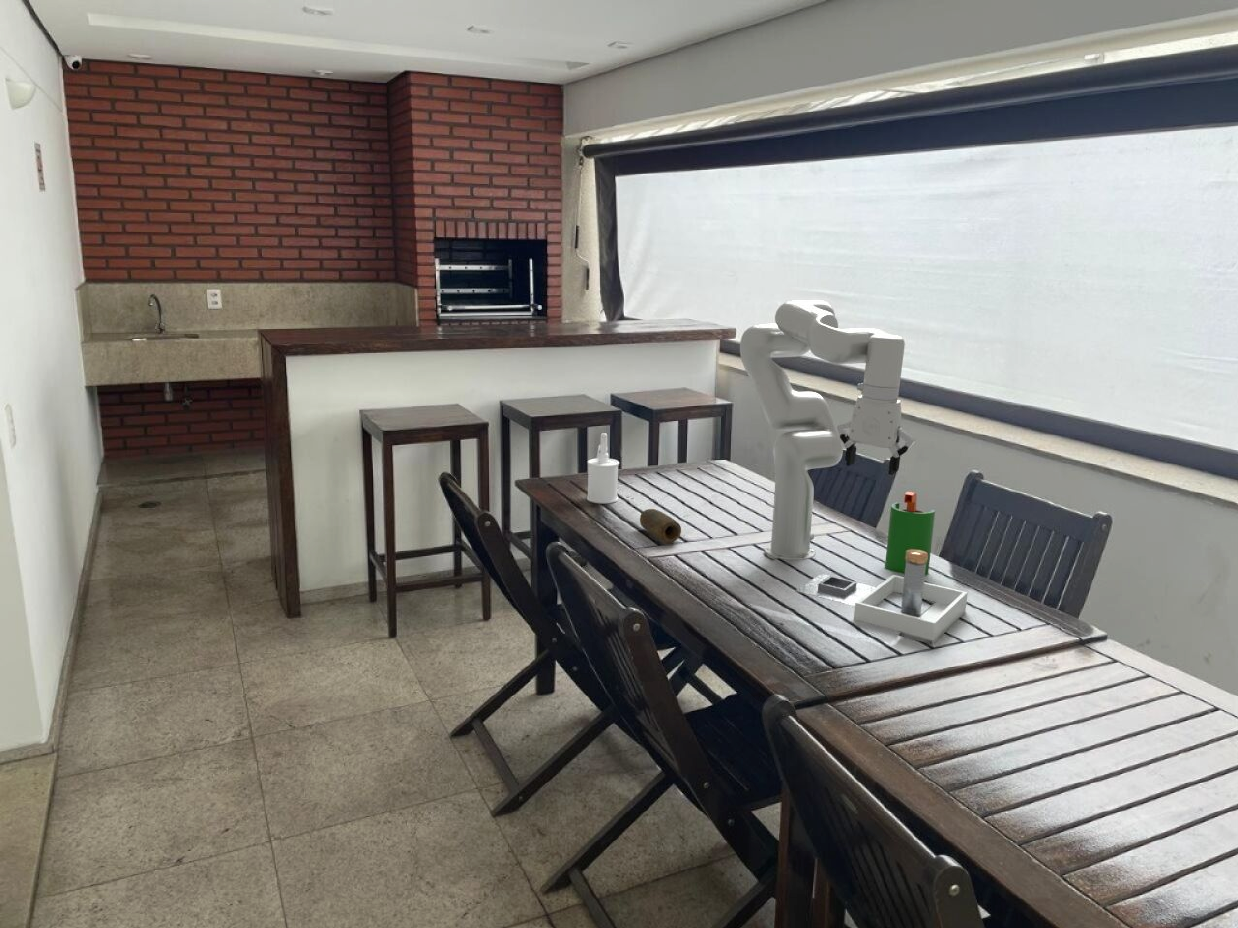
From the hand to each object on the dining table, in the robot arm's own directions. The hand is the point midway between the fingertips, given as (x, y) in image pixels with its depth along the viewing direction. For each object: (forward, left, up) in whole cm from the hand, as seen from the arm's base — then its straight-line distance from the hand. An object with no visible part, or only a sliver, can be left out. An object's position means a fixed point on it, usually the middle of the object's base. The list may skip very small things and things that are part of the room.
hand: (871, 469), depth 212 cm
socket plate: (+4, -4, -29) cm, 29 cm away
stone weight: (-4, -57, -29) cm, 64 cm away
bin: (+7, +14, -29) cm, 33 cm away
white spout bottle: (-23, -90, -29) cm, 97 cm away
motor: (-21, +3, -29) cm, 36 cm away
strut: (+7, +14, -28) cm, 32 cm away
